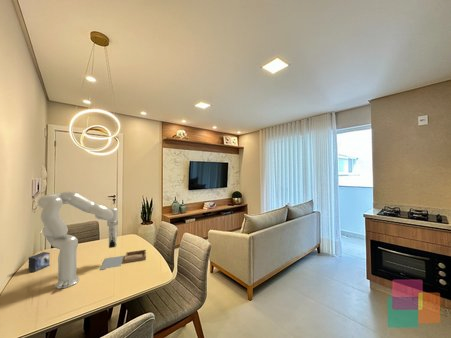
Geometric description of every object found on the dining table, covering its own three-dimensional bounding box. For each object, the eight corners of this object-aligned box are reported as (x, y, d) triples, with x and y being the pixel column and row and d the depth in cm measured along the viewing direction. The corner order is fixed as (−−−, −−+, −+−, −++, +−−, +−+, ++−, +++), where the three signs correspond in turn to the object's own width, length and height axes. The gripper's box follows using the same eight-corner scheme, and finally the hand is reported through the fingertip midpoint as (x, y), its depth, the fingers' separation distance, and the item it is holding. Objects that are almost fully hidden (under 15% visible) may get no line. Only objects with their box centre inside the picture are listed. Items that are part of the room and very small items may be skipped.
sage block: (115, 247, 158) (115, 238, 158) (108, 248, 156) (108, 239, 156) (116, 245, 162) (116, 236, 162) (109, 245, 160) (109, 237, 160)
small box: (34, 272, 144) (34, 258, 144) (27, 271, 146) (27, 257, 146) (50, 265, 155) (50, 252, 155) (43, 264, 156) (43, 251, 156)
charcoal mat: (120, 266, 152) (120, 266, 152) (99, 270, 147) (99, 269, 147) (123, 256, 170) (123, 255, 171) (105, 259, 165) (105, 258, 165)
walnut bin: (145, 260, 162) (145, 256, 162) (124, 263, 156) (124, 260, 156) (146, 252, 177) (145, 249, 177) (126, 255, 171) (126, 252, 171)
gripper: (116, 225, 152) (116, 248, 152) (119, 220, 168) (119, 241, 168) (105, 226, 150) (105, 250, 150) (109, 221, 165) (109, 242, 165)
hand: (112, 245), depth 159 cm, fingers closed on sage block, 5 cm apart
